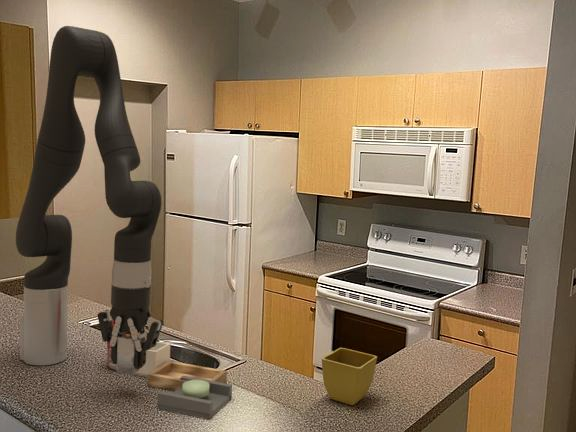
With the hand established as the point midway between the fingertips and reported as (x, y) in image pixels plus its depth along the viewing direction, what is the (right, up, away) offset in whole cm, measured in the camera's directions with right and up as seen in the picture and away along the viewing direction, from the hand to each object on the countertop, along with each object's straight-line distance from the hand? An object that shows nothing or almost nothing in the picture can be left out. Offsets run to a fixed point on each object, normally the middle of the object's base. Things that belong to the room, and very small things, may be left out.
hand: (128, 365), depth 116 cm
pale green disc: (+14, -5, -3) cm, 15 cm away
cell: (0, -1, 0) cm, 1 cm away
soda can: (-5, -4, +15) cm, 17 cm away
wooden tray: (+11, -6, +7) cm, 14 cm away
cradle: (+14, -7, -2) cm, 16 cm away
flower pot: (+44, -8, +3) cm, 45 cm away
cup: (+1, -5, +13) cm, 14 cm away
